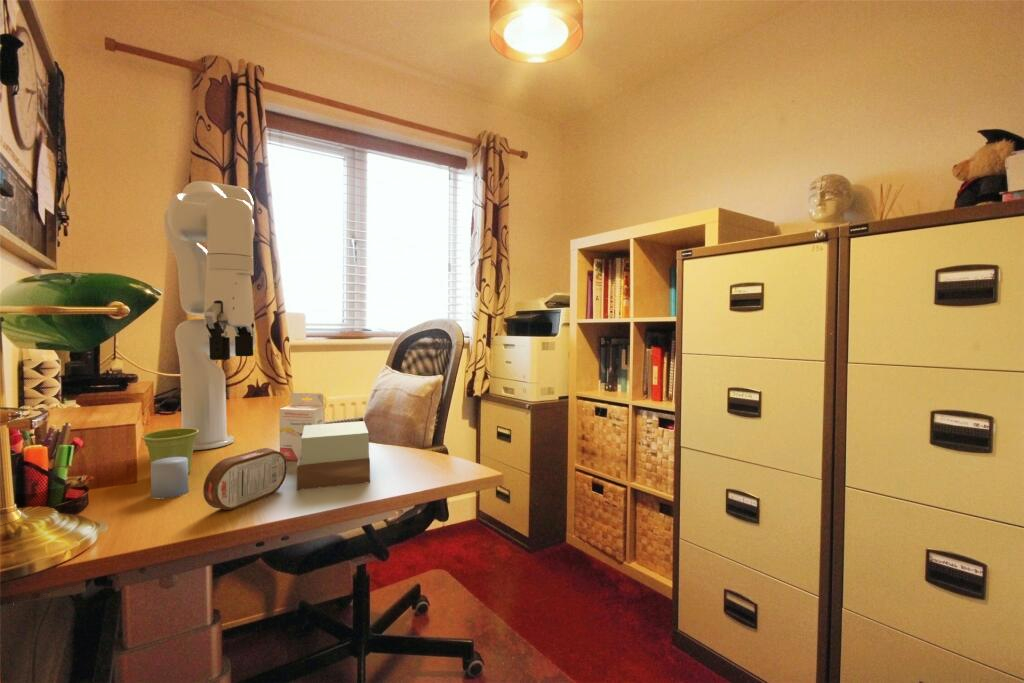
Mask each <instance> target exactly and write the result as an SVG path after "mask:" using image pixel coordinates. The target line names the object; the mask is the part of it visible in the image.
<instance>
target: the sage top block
mask: <svg viewBox="0 0 1024 683" xmlns="http://www.w3.org/2000/svg"><path fill="white" fill-rule="evenodd" d="M369 440H370V438H369V430H368V428H367V425H366V423H365V421H364V420H362V421H361V420H359V421H349V422H348V421H347V422H332V423H324V424H318V425H304V429H303V434H302V465H305V464H316V463H326V462H337V461H347V460H357V459H367V458H370V441H369Z"/></svg>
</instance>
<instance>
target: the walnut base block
mask: <svg viewBox="0 0 1024 683" xmlns="http://www.w3.org/2000/svg"><path fill="white" fill-rule="evenodd" d="M370 460H371V459H370V457H369V458H367V459H357V460H347V461H337V462H326V463H316V464H305V465H302V449H301V452H300V456H299V459H298V461H297V464H296V489H297V491H300V490H301V489H302V490H310V489H320V488H319V487H321V488H328V487H327V486H331V487H339V486H338V485H340V486H348V485H358V484H366V483H365V482H369V483H371V461H370ZM302 490H301V491H302Z"/></svg>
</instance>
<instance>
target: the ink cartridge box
mask: <svg viewBox="0 0 1024 683" xmlns="http://www.w3.org/2000/svg"><path fill="white" fill-rule="evenodd" d="M306 397H307V398H308V399H312V400H307V399H306V400H305V398H306ZM318 424H325V406H324V394H323V393H322V392H321V393H319V392H318V393H317V392H316V393H313V392H291V393H290V405H287V406H285V407H281V408H279V452H281V453H282V454H283V455H284V456H285V458H286V460H287V461H295V460H296V461H297V462H298V459H299V456H300V452H301V449H302V434H303V429H304V425H318Z"/></svg>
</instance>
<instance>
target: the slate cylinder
mask: <svg viewBox="0 0 1024 683" xmlns="http://www.w3.org/2000/svg"><path fill="white" fill-rule="evenodd" d="M150 483H151V484H150V488H151V489H150V490H151V498H152V497H153V498H160V499H159V500H162V499H161V498H168V499H172V498H171V497H174V498H177V496H178V497H181V496H184V495H186V494H187V493H189V487H190V486H189V473H188V458H186V457H169V458H163V459H159V460H156V461H153V462H151V461H150ZM185 493H186V494H185ZM183 494H184V495H183ZM180 495H181V496H180ZM153 498H152V499H153Z"/></svg>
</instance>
